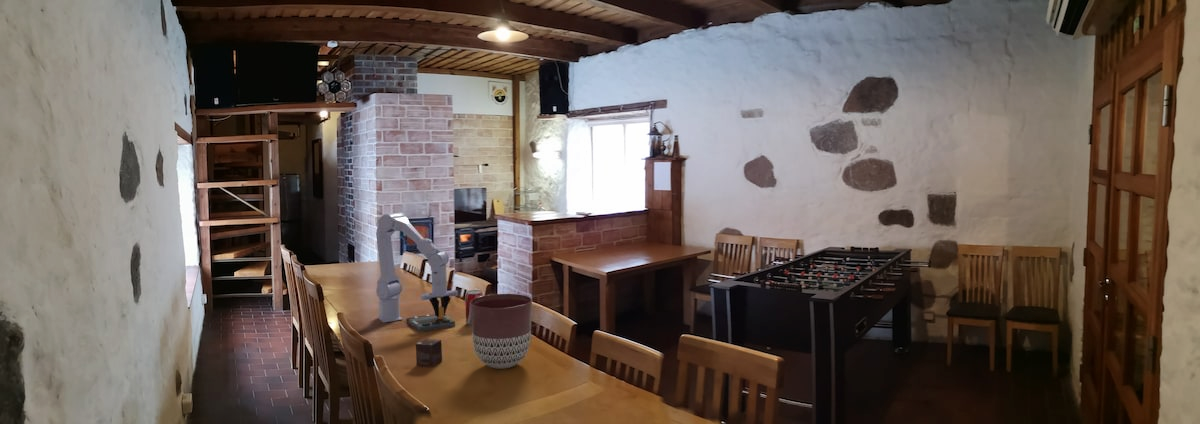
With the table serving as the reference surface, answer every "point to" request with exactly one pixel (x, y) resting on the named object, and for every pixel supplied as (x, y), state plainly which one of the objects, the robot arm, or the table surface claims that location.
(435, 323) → the panel
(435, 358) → the box
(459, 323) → the table surface
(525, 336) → the planter
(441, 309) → the breaker lever
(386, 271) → the robot arm
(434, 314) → the twin grey rollers
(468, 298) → the soda can
